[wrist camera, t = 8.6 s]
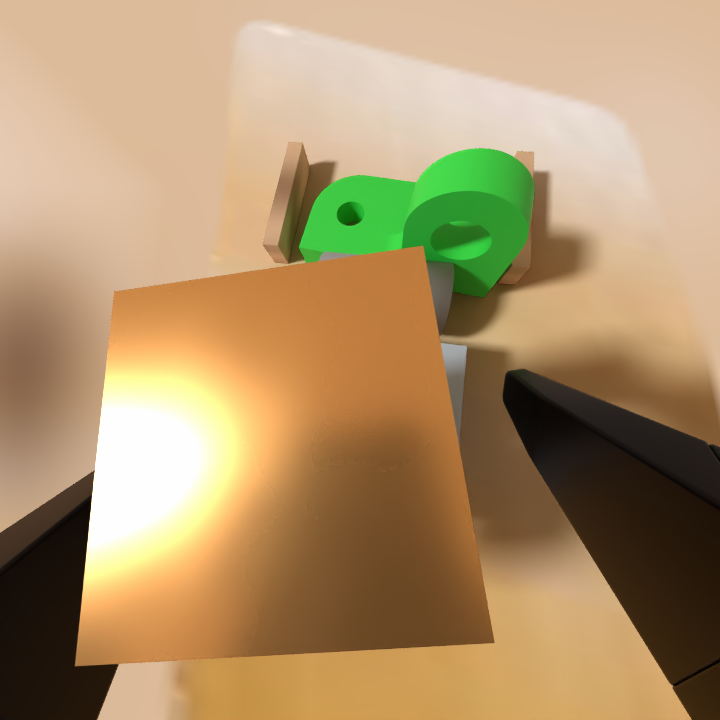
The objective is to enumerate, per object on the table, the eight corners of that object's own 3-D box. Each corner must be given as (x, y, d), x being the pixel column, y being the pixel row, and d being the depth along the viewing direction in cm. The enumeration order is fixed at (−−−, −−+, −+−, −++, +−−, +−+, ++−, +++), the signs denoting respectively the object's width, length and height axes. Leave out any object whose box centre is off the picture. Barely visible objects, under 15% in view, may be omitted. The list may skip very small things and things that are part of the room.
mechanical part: (497, 219, 19) (576, 77, 11) (482, 299, 18) (558, 202, 10) (330, 193, 21) (297, 54, 13) (307, 264, 19) (255, 159, 12)
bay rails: (514, 284, 18) (530, 267, 16) (274, 262, 19) (262, 244, 18) (519, 179, 19) (533, 151, 17) (297, 168, 21) (288, 142, 19)
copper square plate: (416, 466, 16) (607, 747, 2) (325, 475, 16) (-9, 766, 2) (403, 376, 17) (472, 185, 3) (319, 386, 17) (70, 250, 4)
